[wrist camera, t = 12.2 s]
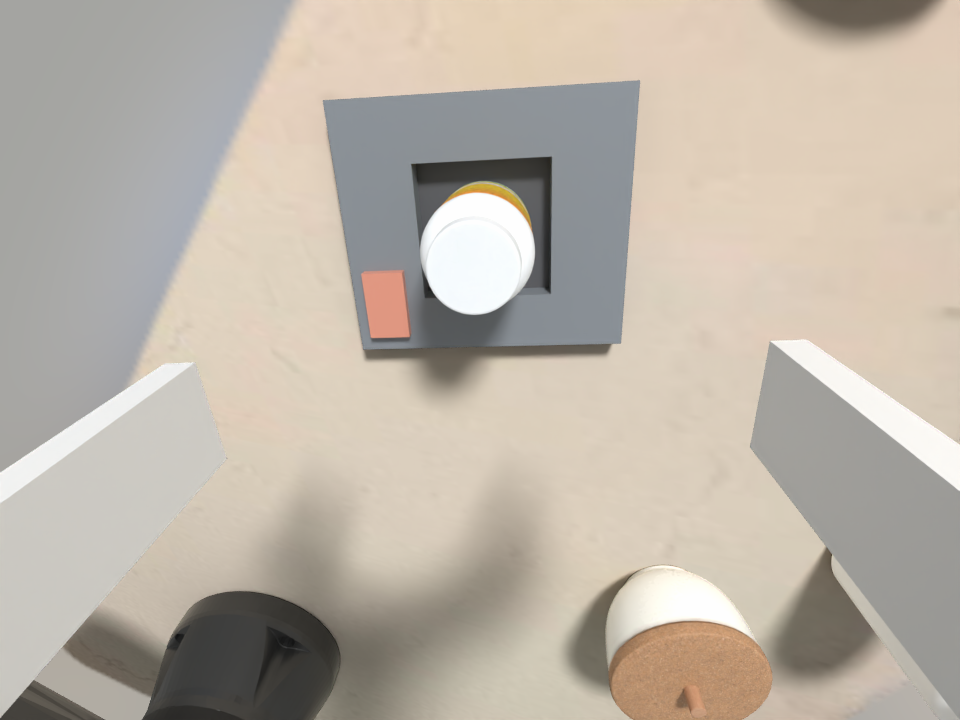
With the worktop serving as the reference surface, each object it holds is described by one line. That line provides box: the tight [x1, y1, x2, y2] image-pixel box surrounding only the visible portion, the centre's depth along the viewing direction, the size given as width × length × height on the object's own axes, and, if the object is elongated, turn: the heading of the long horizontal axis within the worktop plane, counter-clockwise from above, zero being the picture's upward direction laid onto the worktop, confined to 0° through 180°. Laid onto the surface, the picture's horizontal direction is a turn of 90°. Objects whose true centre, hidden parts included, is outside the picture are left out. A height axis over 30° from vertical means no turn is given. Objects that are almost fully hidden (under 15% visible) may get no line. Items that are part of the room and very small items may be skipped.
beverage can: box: [831, 555, 959, 720], centre depth 32 cm, size 8×8×12 cm
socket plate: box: [323, 80, 640, 349], centre depth 28 cm, size 16×14×2 cm
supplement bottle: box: [420, 181, 535, 315], centre depth 25 cm, size 5×5×10 cm
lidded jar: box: [605, 565, 772, 720], centre depth 37 cm, size 11×11×9 cm
